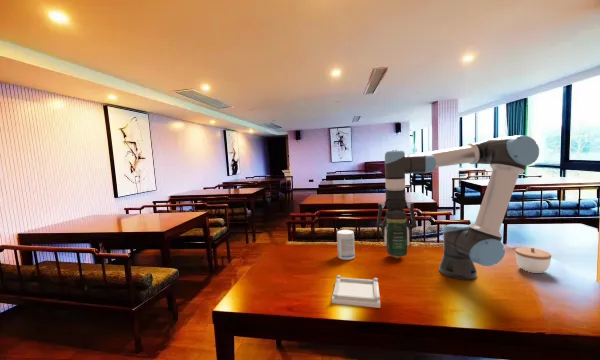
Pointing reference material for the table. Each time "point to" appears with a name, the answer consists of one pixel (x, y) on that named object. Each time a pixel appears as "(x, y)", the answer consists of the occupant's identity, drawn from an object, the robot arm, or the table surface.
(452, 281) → the table surface
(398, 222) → the coffee jar
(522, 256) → the lidded bowl
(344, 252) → the supplement tub
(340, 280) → the white square tray
